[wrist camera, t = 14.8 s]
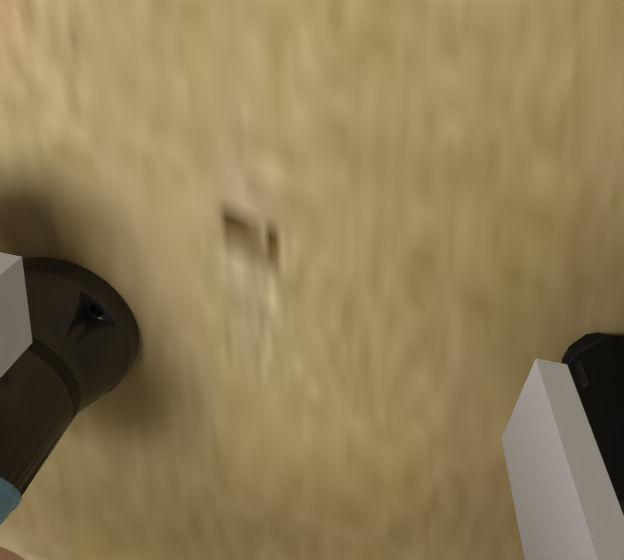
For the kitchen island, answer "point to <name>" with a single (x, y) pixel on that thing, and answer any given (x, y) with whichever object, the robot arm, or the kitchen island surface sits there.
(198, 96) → the kitchen island surface
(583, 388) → the portable speaker
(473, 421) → the kitchen island surface
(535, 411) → the robot arm
